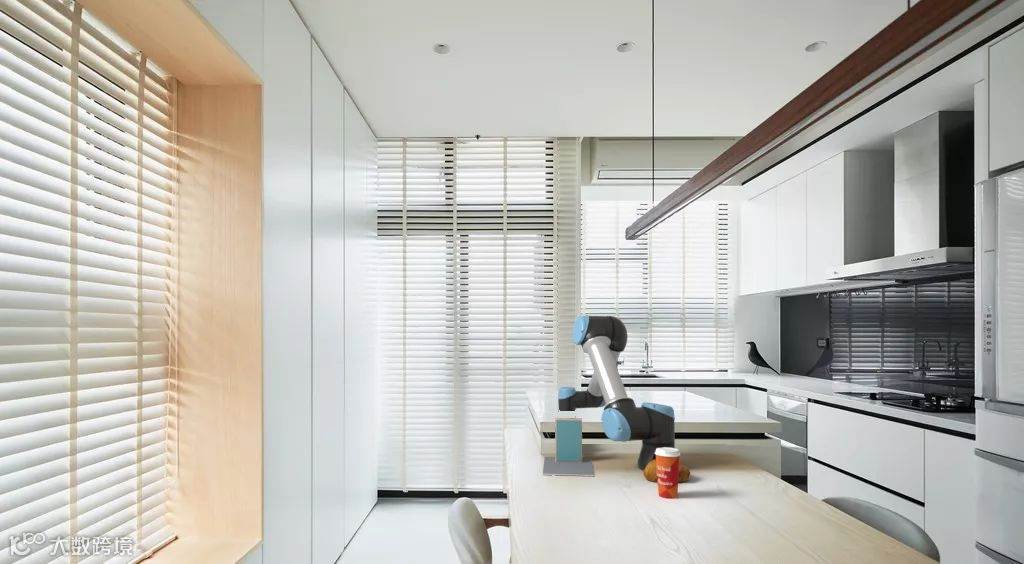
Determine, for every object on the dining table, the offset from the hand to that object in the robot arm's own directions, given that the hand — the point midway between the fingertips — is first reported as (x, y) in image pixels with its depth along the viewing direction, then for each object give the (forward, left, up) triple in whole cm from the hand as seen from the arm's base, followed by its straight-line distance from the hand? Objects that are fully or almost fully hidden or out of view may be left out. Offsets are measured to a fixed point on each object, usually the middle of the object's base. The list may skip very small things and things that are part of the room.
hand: (567, 437), depth 226 cm
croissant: (-35, -19, -9) cm, 41 cm away
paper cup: (-52, -6, -9) cm, 53 cm away
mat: (-8, +4, -9) cm, 12 cm away
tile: (-3, +1, -8) cm, 9 cm away
